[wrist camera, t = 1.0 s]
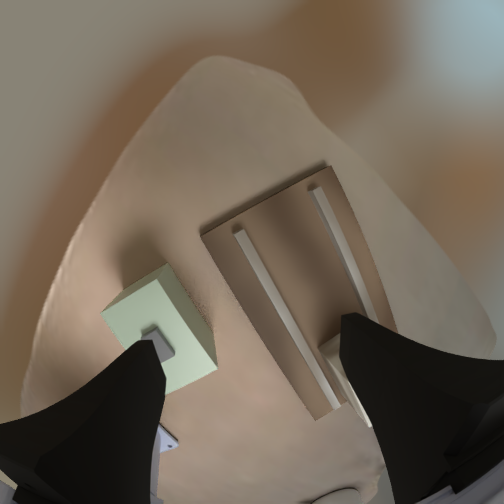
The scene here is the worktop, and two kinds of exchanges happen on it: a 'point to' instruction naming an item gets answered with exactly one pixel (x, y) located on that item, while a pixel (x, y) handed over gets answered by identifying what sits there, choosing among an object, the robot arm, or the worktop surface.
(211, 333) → the module
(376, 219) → the worktop surface
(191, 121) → the worktop surface
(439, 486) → the robot arm
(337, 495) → the mug
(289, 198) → the rail board
